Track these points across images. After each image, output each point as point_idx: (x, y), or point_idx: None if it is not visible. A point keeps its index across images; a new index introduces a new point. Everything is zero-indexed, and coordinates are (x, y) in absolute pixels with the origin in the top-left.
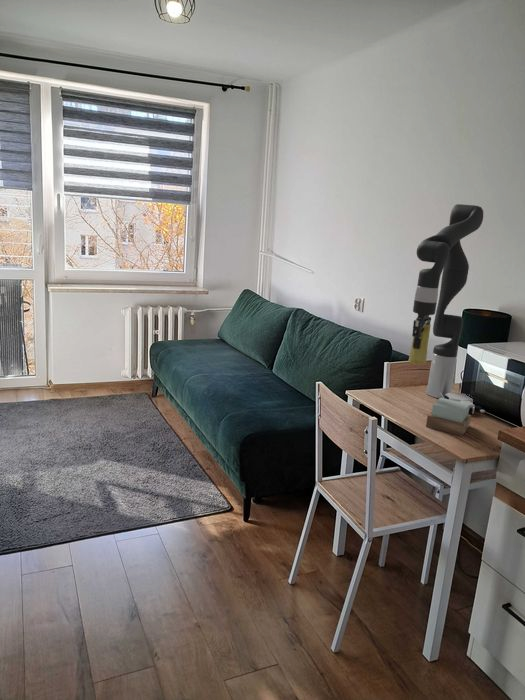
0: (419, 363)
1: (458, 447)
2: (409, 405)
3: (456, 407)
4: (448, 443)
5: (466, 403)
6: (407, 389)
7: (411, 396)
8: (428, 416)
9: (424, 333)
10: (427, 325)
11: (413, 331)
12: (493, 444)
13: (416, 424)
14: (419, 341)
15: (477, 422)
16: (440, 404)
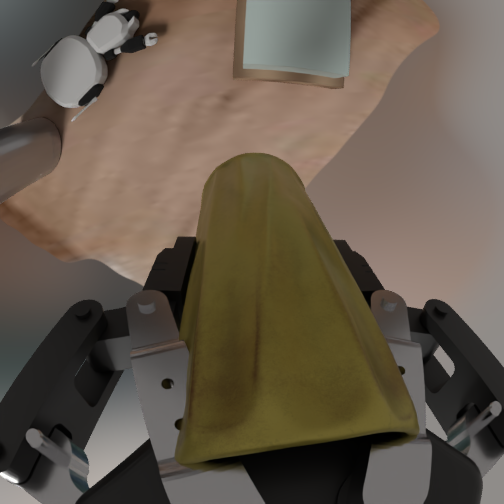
0: (301, 182)
1: (409, 24)
2: (177, 167)
3: (325, 8)
4: (403, 40)
5: (114, 28)
6: (59, 220)
7: (98, 191)
8: (343, 85)
9: (372, 316)
10: (409, 414)
11: (446, 378)
12: None
13: (331, 112)
14: (365, 278)
15: None
16: (332, 53)
